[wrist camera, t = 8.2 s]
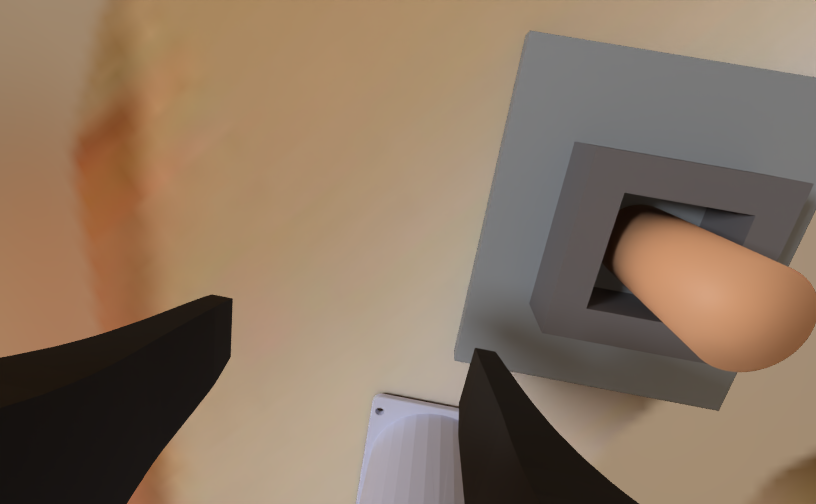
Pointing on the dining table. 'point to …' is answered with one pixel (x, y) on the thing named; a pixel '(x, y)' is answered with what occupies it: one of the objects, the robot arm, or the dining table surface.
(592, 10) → the dining table surface
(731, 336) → the peg
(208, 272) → the dining table surface
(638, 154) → the socket board
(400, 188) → the dining table surface
